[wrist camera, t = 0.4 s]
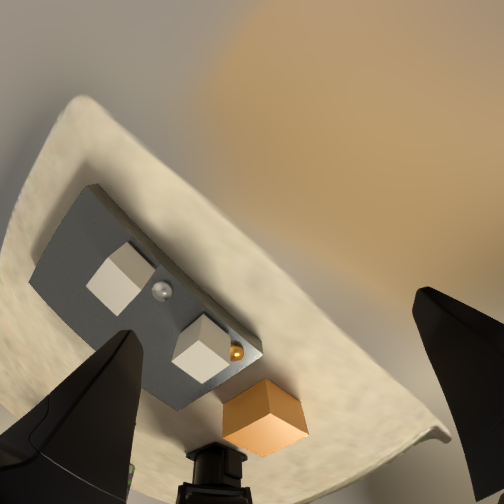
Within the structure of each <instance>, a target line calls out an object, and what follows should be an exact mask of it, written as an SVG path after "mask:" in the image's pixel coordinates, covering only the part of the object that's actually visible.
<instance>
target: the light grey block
mask: <svg viewBox="0 0 504 504" xmlns="http://www.w3.org/2000/svg"><path fill="white" fill-rule="evenodd" d="M230 347H231V337H230V336H229V335H228V334H227V333H225V332H224V331H223V330H222V329H221V328H219V327H218V326H217V325H216V324H215V323H214V322H212V321H211V320H210V319H209V318H208V317H207V316H205V315H204V314H203V315H202V316H201V317H199V318H198V319H197V320H196V321H195V322H193V323H192V324H191V325H190V326H189V327H188V328H186V329H185V330H184V331H183V332H182V333H180V334H179V337H178V340H177V343H176V347H175V350H174V354H173V357H172V361H171V362H173V363H174V364H175V365H177V366H178V367H179V368H181V369H182V370H183V371H185V372H186V373H187V374H189V375H190V376H192V377H193V378H195V379H196V380H197V381H199V382H200V383H202V384H203V383H204V382H206V381H207V380H209V379H210V378H212V377H213V376H214V375H216V374H217V373H219V372H220V371H222V370H223V369H225V368H226V367H227V366H229V365H230Z"/></svg>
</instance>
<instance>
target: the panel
mask: <svg viewBox="0 0 504 504" xmlns="http://www.w3.org/2000/svg"><path fill="white" fill-rule="evenodd" d="M126 242H128V243H129V244H130V245H131V246H132V247H133V248H134V249H135V250H136V251H137V252H138V253H139V254H140V255H141V256H142V257H143V258H144V259H145V260H146V261H147V262H148V263H149V264H150V265H151V266H152V267H153V268H154V269H155V272H154V273H153V274H152V276H151V277H150V279H149V280H148V282H147V283H146V284H145V286H144V287H143V289H142V290H141V291H140V292H139V293H138V295H137V296H136V297H135V298H134V299H133V300H132V301H131V302H130V303H129V304H128V305H127V306H126V307H125V308H124V310H123V311H122V312H121V313H120V314H119V315H118V316H116V315H115V314H114V313H113V312H112V311H111V310H110V309H109V308H108V307H107V306H105V305H104V304H103V303H102V302H101V301H100V300H99V299H98V298H97V297H96V296H95V295H94V294H93V293H92V292H91V291H90V290H89V289H88V288H87V287H86V285H87V284H88V282H89V281H90V280H91V278H92V277H93V276H94V274H95V273H96V272H97V270H98V269H99V268H100V267H101V265H102V264H103V263H104V261H105V260H106V259H107V258H108V257H109V256H110V255H111V254H112V253H114V252H115V251H116V250H117V249H119V248H120V247H121V246H123V245H124V244H125V243H126ZM29 283H30V285H31V286H32V287H33V288H34V289H35V291H36V292H37V293H38V294H39V295H40V296H41V297H42V298H43V300H44V301H45V302H46V303H47V304H48V305H49V306H50V307H51V308H52V309H53V310H54V311H55V312H56V314H57V315H58V316H59V317H60V318H61V319H62V320H63V321H64V322H65V323H66V324H67V325H68V326H69V327H70V328H71V329H72V330H74V331H75V332H76V333H77V334H78V335H79V336H80V337H81V338H82V339H83V340H84V341H85V342H86V343H88V344H89V345H90V346H91V347H92V348H93V349H94V350H95V351H97V350H98V349H99V348H100V347H102V346H103V345H104V344H105V343H106V342H107V341H108V340H109V339H111V338H112V337H113V336H114V335H115V334H116V333H117V332H119V331H120V330H122V329H132V330H133V331H134V332H135V333H136V335H137V337H138V339H139V341H140V343H141V345H142V347H143V350H144V357H143V368H142V380H141V387H142V388H144V389H145V390H147V391H148V392H149V393H151V394H152V395H154V396H155V397H157V398H158V399H160V400H161V401H163V402H164V403H166V404H167V405H169V406H170V407H172V408H174V409H175V410H177V411H178V410H180V409H181V408H183V407H185V406H186V405H188V404H190V403H191V402H193V401H195V400H196V399H198V398H200V397H201V396H203V395H204V394H206V393H208V392H209V391H211V390H212V389H214V388H215V387H217V386H219V385H220V384H222V383H223V382H225V381H226V380H228V379H229V378H231V377H232V376H234V375H235V374H237V373H238V372H240V371H241V370H242V369H244V368H245V367H247V366H248V365H250V364H251V363H253V362H254V361H255V360H257V359H258V358H260V357H261V356H262V355H263V348H262V341H260V340H259V339H258V338H257V337H256V336H254V335H253V334H252V333H251V332H250V331H249V330H247V329H246V328H245V327H244V326H243V325H242V324H240V323H239V322H238V321H237V320H236V319H235V318H234V317H232V316H231V315H230V314H229V313H228V312H227V311H226V310H225V309H223V308H222V307H221V306H220V305H219V304H218V303H217V302H216V301H214V300H213V299H212V298H211V297H210V296H209V295H208V294H207V293H206V292H205V291H204V290H202V289H201V288H200V287H199V286H198V285H197V284H196V283H195V282H194V281H193V280H192V279H191V278H190V277H189V276H187V275H186V274H185V273H184V272H183V271H182V270H181V269H180V268H179V267H178V266H177V265H176V264H175V263H174V262H173V261H172V260H171V259H170V258H169V257H168V256H167V255H166V254H165V253H164V252H163V251H162V250H161V249H160V248H159V247H157V246H156V245H155V244H154V243H153V242H152V241H151V240H150V239H149V238H148V236H147V235H146V234H145V233H144V232H143V231H142V230H141V229H140V228H139V227H138V226H137V225H136V224H135V223H134V222H133V221H132V220H131V219H130V218H129V217H128V216H127V215H126V214H125V213H124V212H123V211H122V210H121V209H120V207H119V206H118V205H117V204H116V203H115V202H114V201H113V200H112V199H111V198H110V197H109V196H108V195H107V193H106V192H105V191H104V190H103V189H102V188H101V187H100V186H99V185H98V184H93V185H88V186H86V187H85V188H84V189H83V191H82V192H81V194H80V195H79V197H78V198H77V199H76V201H75V202H74V204H73V205H72V207H71V208H70V210H69V211H68V213H67V214H66V216H65V217H64V219H63V221H62V222H61V224H60V225H59V227H58V229H57V230H56V232H55V234H54V235H53V237H52V239H51V241H50V242H49V244H48V246H47V248H46V249H45V251H44V253H43V255H42V257H41V259H40V260H39V262H38V264H37V266H36V268H35V270H34V272H33V274H32V276H31V278H30V280H29ZM203 314H204V315H205V316H207V317H208V318H209V319H210V320H211V321H212V322H214V323H215V324H216V325H217V326H218V327H219V328H221V329H222V330H223V331H224V332H225V333H227V334H228V335H229V336H230V337H231V347H230V365H229V366H227V367H226V368H225V369H223V370H222V371H220V372H219V373H217V374H216V375H214V376H213V377H212V378H210V379H209V380H207V381H206V382H204V383H203V384H202V383H200V382H199V381H197V380H196V379H195V378H193V377H192V376H190V375H189V374H187V373H186V372H185V371H183V370H182V369H181V368H179V367H178V366H177V365H175V364H174V363H173V362H171V361H172V357H173V354H174V350H175V347H176V343H177V340H178V337H179V334H180V333H182V332H183V331H184V330H185V329H186V328H188V327H189V326H190V325H191V324H192V323H193V322H195V321H196V320H197V319H198V318H199V317H201V316H202V315H203Z"/></svg>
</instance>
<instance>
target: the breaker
mask: <svg viewBox="0 0 504 504" xmlns="http://www.w3.org/2000/svg"><path fill="white" fill-rule="evenodd" d="M154 272H155V269H154V268H153V267H152V266H151V265H150V264H149V263H148V262H147V261H146V260H145V259H144V258H143V257H142V256H141V255H140V254H139V253H138V252H137V251H136V250H135V249H134V248H133V247H132V246H131V245H130V244H129V243H128V242H126V243H125V244H124V245H123V246H121V247H120V248H119V249H117V250H116V251H115V252H114V253H112V254H111V255H110V256H109V257H108V258H107V259H106V260H105V261H104V263H103V264H102V265H101V267H100V268H99V269H98V270H97V272H96V273H95V274H94V276H93V277H92V278H91V280H90V281H89V282H88V284H87V285H86V287H87V288H88V289H89V290H90V291H91V292H92V293H93V294H94V295H95V296H96V297H97V298H98V299H99V300H100V301H101V302H102V303H103V304H104V305H105V306H107V307H108V308H109V309H110V310H111V311H112V312H113V313H114V314H115V315H116V316H118V315H119V314H120V313H121V312H122V311H123V310H124V308H125V307H126V306H127V305H128V304H129V303H130V302H131V301H132V300H133V299H134V298H135V297H136V296H137V295H138V293H139V292H140V291H141V290H142V289H143V287H144V286H145V284H146V283H147V282H148V280H149V279H150V277H151V276H152V274H153V273H154Z"/></svg>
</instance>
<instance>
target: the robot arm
mask: <svg viewBox="0 0 504 504" xmlns="http://www.w3.org/2000/svg"><path fill="white" fill-rule="evenodd" d="M412 313H413V317H414V320H415V323H416V325H417V328H418V330H419V333H420V336H421V339H422V342H423V345H424V347H425V350H426V353H427V355H428V358H429V360H430V362H431V364H432V367H433V369H434V371H435V374H436V376H437V378H438V381H439V383H440V386H441V388H442V390H443V393H444V395H445V398H446V401H447V403H448V406H449V409H450V411H451V414H452V416H453V420H454V422H455V425H456V428H457V431H458V434H459V437H460V440H461V444H462V447H463V451H464V454H465V458H466V462H467V465H468V469H469V473H470V477H471V482H472V486H473V491H474V495H475V499H476V502H478V501H480V500H483V499H484V498H487V497H489V496H491V495H493V494H495V493H497V492H498V491H500V490H502V489H504V324H503V323H500V322H499V321H497V320H495V319H493V318H491V317H489V316H487V315H486V314H484V313H482V312H480V311H478V310H476V309H474V308H472V307H470V306H468V305H466V304H464V303H462V302H460V301H458V300H456V299H454V298H452V297H450V296H448V295H446V294H444V293H441V292H440V291H437V290H435V289H433V288H431V287H423V288H420V289H418V290H417V292H416V295H415V300H414V304H413V308H412ZM143 357H144V350H143V347H142V345H141V343H140V341H139V339H138V337H137V335H136V333H135V332H134V331H133V330H132V329H122V330H120V331H119V332H117V333H116V334H115V335H114V336H113V337H112V338H111V339H109V340H108V341H107V342H106V343H105V344H104V345H103V346H102V347H100V348H99V349H98V350H97V351H96V352H95V353H94V354H92V355H91V356H90V357H89V358H88V359H87V360H86V361H85V362H84V363H82V364H81V365H80V366H79V367H78V368H77V369H76V370H75V371H74V372H72V373H71V374H70V375H69V376H68V377H67V378H66V379H65V380H64V381H63V382H61V383H60V384H59V385H58V386H57V387H56V388H55V389H54V390H53V391H52V392H51V393H50V395H47V396H46V397H45V398H44V399H43V400H42V401H41V402H40V403H39V404H38V405H36V406H35V407H34V408H33V409H32V410H31V411H30V412H28V413H27V414H26V415H25V416H23V417H22V418H21V419H20V420H19V421H17V422H16V423H15V424H13V425H12V426H11V427H10V428H8V430H6V431H5V432H3V433H2V434H1V435H0V504H126V498H127V486H128V476H129V466H130V458H131V450H132V442H133V435H134V429H135V422H136V416H137V410H138V404H139V398H140V391H141V380H142V368H143ZM186 458H188V459H190V460H192V461H194V468H193V480H192V484H191V483H187V482H183V485H180V486H179V487H178V495H177V500H176V504H253V503H252V497H251V491H250V487H245V488H244V487H241V479H242V462H244V461H247V460H248V458H247V456H245V455H242V454H240V453H238V452H236V451H233V450H231V449H229V448H227V447H225V446H223V445H221V444H219V443H211V444H209V445H207V446H204V447H202V448H200V449H197V450H195V451H193V452H190V453H188V454H186ZM498 504H504V493H503V494H502V495H501V496H500V499H499V502H498Z"/></svg>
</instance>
